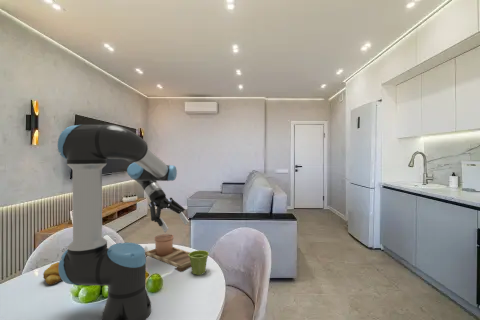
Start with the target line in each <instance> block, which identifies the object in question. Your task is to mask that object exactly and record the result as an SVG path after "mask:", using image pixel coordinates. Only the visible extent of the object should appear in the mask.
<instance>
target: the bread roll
mask: <svg viewBox="0 0 480 320" xmlns="http://www.w3.org/2000/svg"><path fill="white" fill-rule="evenodd" d="M58 267H59V261H58V262H55V263H53V264H51V265H50V266H49V267H48V268H46V269H45V270H44V272H43V274H42V275H43V279H44V280H45V283H46V284H47V285H55V284H57V283H60V281H62V279H61V277H60V275H59V270H58Z"/></svg>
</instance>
